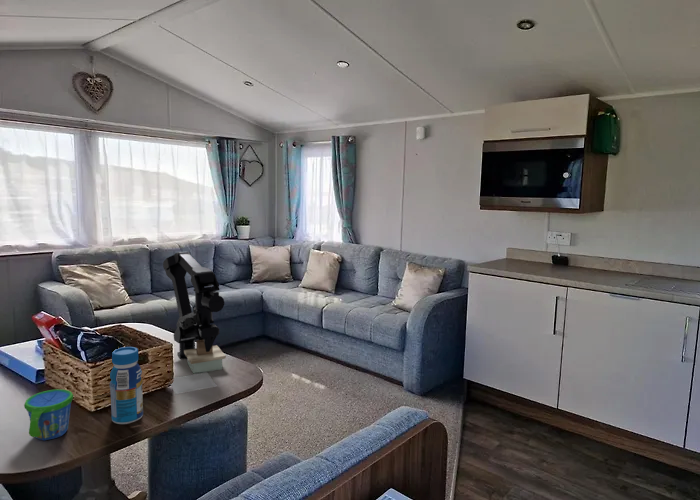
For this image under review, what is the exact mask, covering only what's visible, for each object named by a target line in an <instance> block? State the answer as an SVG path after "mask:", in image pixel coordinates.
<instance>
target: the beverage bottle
mask: <svg viewBox="0 0 700 500" xmlns="http://www.w3.org/2000/svg"><path fill="white" fill-rule="evenodd" d="M138 361H139V349H138V348H137V347H134V346H124V347H123V346H122V347H118V349H115V350H114V351H113V352H112V363H113V365H114V366H113V368H112V370H111V372H110V379H111V381H110V382H109V389H110V391H109V393H110V409H111V421H112V422H113V423H114V424H117V425H129V424H131V423H134V422H137V421H139V420H140V419H142V418H143V417H144V406H143V405H144V403H143V402H144V401H143V383H144V381H143V377H142V374H143V371H142V368H141V366H140V364H139V363H138Z"/></svg>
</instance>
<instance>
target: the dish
mask: <svg viewBox="0 0 700 500" xmlns="http://www.w3.org/2000/svg"><path fill="white" fill-rule="evenodd" d="M186 359H187V366H188V368H189V369H190V370H191V372H192V375H194V374H200V373H205V372H207V373H208V372H214V371H221V370H223V359H220V360H213V361H207V362H201V363H195V364H191V363H190V362H189V360H188V358H186Z"/></svg>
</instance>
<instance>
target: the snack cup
mask: <svg viewBox="0 0 700 500" xmlns="http://www.w3.org/2000/svg"><path fill="white" fill-rule="evenodd" d="M73 399H74V394H73V392H72V391H71V390H69V389H62V388H61V389H60V388H59V389H58V388H57V389H49V390H45V391H40V392H37V393H35V394H33V395H31V396H30V397H28V398H27V399H26V400H25V402H24V404H23V406H24V409H25V410H26V411H27V414H28V418H29V428H28V434H29V436H30V437H32V438H36V439H38V440H41V441H47V440H48V441H49V440H53V439H57V438H60V437H62V436H63V435H64V434H66V433H67V431H68V429H69V425H70V424H69V422H70V416H71V415H70V414H71V407H72V406H71V404H72V401H73Z"/></svg>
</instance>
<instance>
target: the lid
mask: <svg viewBox="0 0 700 500" xmlns="http://www.w3.org/2000/svg"><path fill="white" fill-rule="evenodd" d="M184 354H185V355H186V357H187V358H188V359H187V358H186V359H187V361H188V360H189V362H190V363H191V364H195V363H201V362H207V361H213V360H220V359H222V360H225V359H227V356H226V354H225V353H224V352H223V351H222V349H221V348H220V347H219V346H218V345H217V344H216V345H212V347H211V349H210V351H209V352H206V349H205V344H204V340H199V339H197V340H195V349H189V350H184Z"/></svg>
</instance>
